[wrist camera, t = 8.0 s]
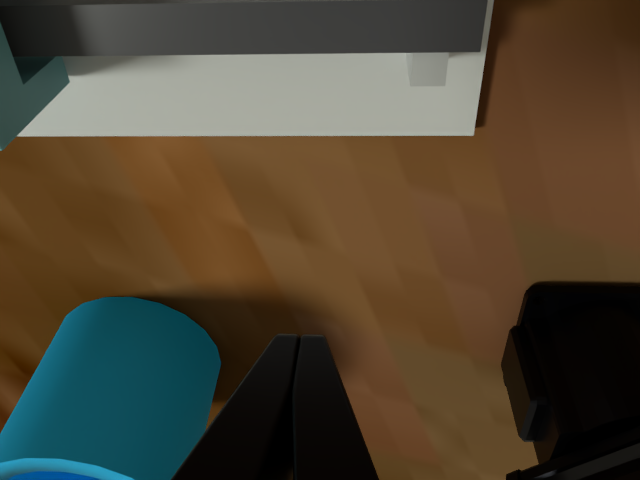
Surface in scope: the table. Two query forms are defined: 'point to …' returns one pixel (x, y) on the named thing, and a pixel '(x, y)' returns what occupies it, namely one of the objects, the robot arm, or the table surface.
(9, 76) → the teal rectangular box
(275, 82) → the sliding vise on plate
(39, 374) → the mug
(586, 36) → the table surface
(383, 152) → the table surface
